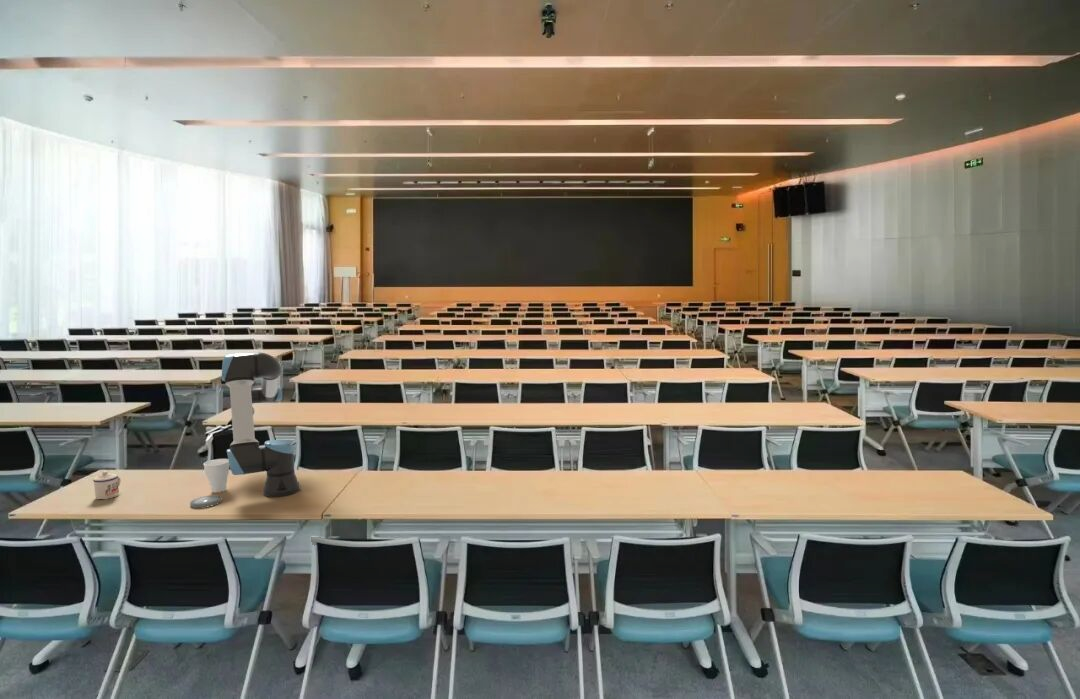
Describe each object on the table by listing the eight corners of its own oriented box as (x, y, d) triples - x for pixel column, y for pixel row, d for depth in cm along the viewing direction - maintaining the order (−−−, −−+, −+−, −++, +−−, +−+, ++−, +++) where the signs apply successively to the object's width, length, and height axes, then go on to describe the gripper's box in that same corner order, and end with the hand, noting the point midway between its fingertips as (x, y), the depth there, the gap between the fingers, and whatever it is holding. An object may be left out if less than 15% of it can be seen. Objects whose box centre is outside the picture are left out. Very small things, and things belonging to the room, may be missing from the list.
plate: (228, 499, 272) (227, 497, 271) (204, 509, 260) (204, 506, 260) (207, 496, 276) (207, 494, 276) (183, 506, 265) (183, 503, 264)
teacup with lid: (108, 500, 274) (105, 475, 272) (89, 499, 275) (87, 474, 274) (129, 491, 285) (127, 466, 284) (112, 490, 287) (109, 466, 285)
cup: (214, 486, 289) (211, 458, 288) (236, 486, 289) (233, 458, 287) (201, 494, 279) (198, 465, 277) (224, 494, 279) (221, 465, 277)
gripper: (264, 430, 311) (251, 451, 291) (211, 429, 308) (194, 450, 288) (263, 417, 309) (250, 436, 289) (210, 415, 305) (192, 435, 285)
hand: (222, 443), depth 288 cm, fingers open, 13 cm apart
